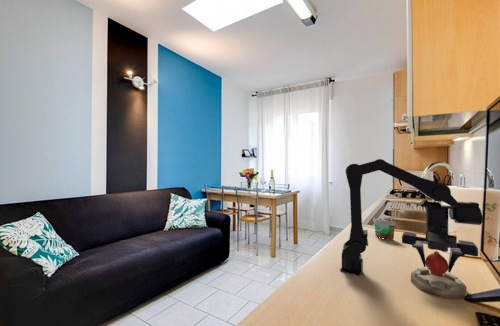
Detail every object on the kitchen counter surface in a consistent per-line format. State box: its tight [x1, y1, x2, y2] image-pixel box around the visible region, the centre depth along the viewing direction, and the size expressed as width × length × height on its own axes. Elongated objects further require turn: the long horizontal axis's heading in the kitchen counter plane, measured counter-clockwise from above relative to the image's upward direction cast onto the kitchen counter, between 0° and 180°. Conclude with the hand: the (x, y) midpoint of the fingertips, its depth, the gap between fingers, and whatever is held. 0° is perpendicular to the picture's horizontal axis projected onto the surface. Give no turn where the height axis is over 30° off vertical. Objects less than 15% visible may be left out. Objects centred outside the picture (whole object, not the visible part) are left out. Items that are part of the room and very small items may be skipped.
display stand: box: [410, 267, 468, 300], centre depth 75 cm, size 14×14×3 cm
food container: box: [372, 216, 397, 240], centre depth 125 cm, size 12×6×10 cm, turn 17°
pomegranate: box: [425, 250, 449, 276], centre depth 75 cm, size 6×6×8 cm
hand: (436, 269), depth 75 cm, fingers closed on pomegranate, 6 cm apart
